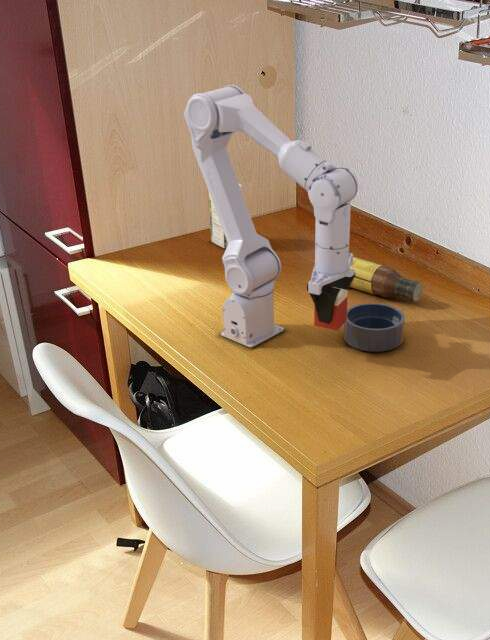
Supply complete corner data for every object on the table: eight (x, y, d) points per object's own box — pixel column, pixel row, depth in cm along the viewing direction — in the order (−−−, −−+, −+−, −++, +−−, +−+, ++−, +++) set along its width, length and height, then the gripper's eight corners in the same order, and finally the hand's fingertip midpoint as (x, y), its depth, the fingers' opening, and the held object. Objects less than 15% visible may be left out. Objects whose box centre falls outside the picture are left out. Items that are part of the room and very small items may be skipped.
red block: (337, 331, 144) (337, 299, 141) (314, 326, 145) (314, 294, 142) (346, 320, 147) (347, 289, 144) (324, 315, 149) (324, 285, 146)
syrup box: (231, 236, 199) (228, 177, 192) (245, 244, 196) (242, 183, 188) (210, 242, 196) (207, 181, 188) (224, 249, 192) (221, 188, 185)
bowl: (379, 360, 149) (381, 336, 146) (331, 341, 155) (331, 317, 152) (414, 338, 157) (416, 314, 154) (366, 321, 162) (368, 297, 160)
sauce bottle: (343, 280, 180) (421, 308, 171) (327, 282, 175) (406, 311, 166) (349, 251, 178) (429, 277, 168) (333, 252, 173) (414, 280, 163)
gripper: (336, 262, 131) (334, 338, 139) (370, 232, 143) (367, 304, 150) (296, 254, 134) (297, 329, 141) (332, 226, 145) (331, 297, 152)
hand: (330, 316), depth 146 cm, fingers closed on red block, 4 cm apart
